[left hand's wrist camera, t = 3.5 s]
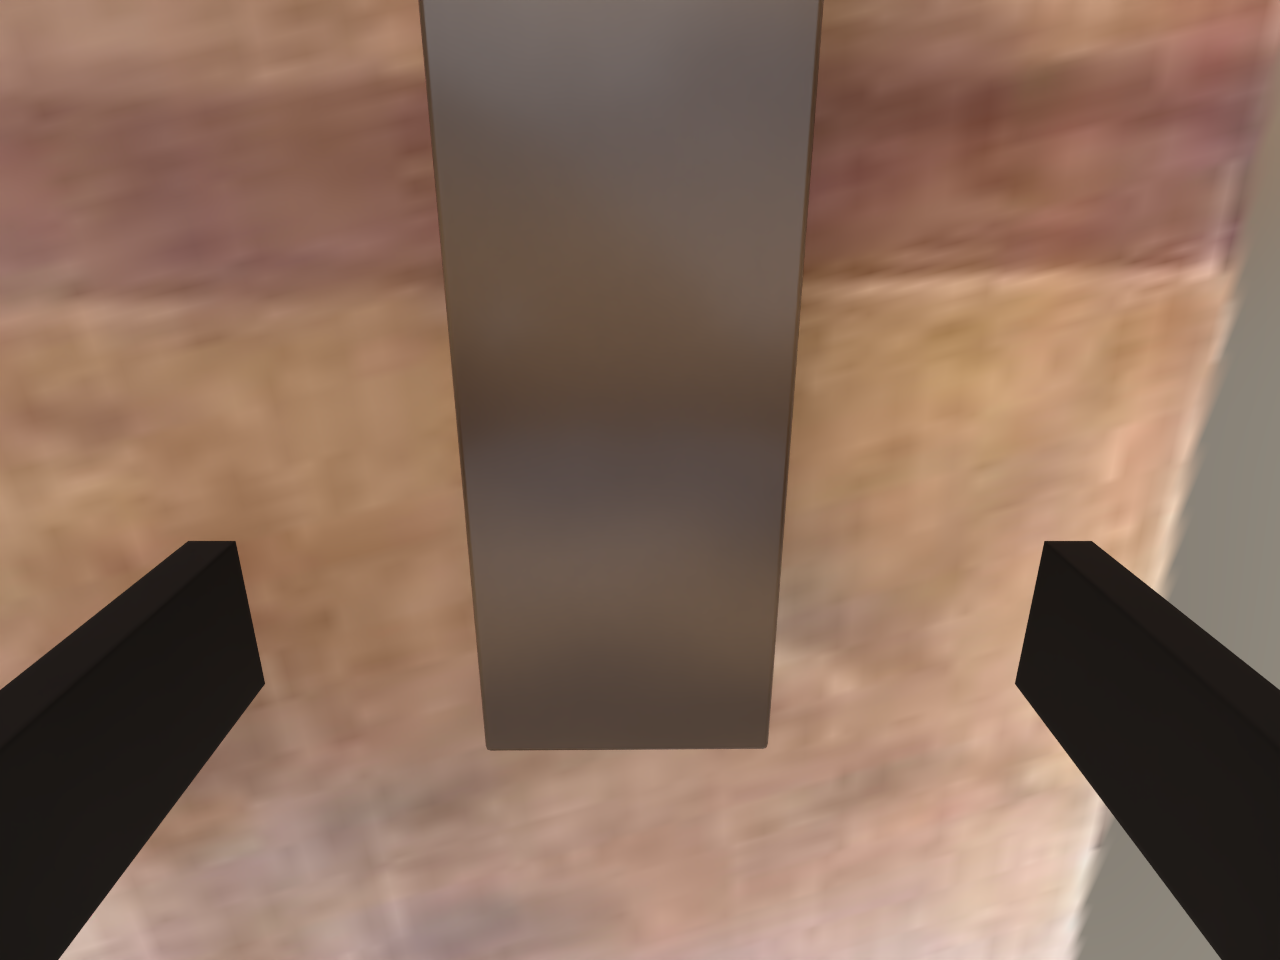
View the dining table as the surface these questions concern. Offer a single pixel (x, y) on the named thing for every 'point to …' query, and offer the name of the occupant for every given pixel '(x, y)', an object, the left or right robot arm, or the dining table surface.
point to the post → (623, 352)
